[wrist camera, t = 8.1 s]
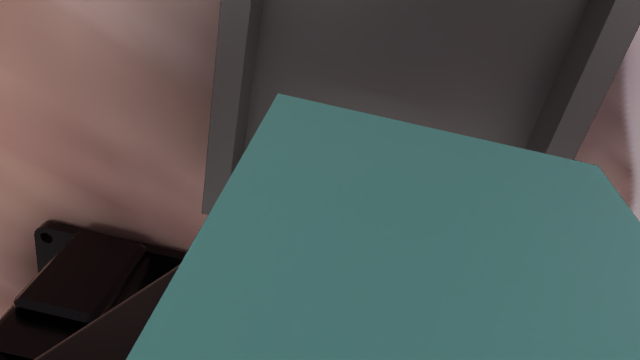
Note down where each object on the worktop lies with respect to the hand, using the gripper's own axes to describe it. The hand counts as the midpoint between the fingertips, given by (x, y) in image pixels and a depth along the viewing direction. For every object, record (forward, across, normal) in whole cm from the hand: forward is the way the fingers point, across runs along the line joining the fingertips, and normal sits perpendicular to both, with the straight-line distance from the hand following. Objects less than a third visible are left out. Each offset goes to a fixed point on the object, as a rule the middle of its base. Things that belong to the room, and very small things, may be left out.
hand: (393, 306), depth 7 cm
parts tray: (+10, 0, 0) cm, 10 cm away
